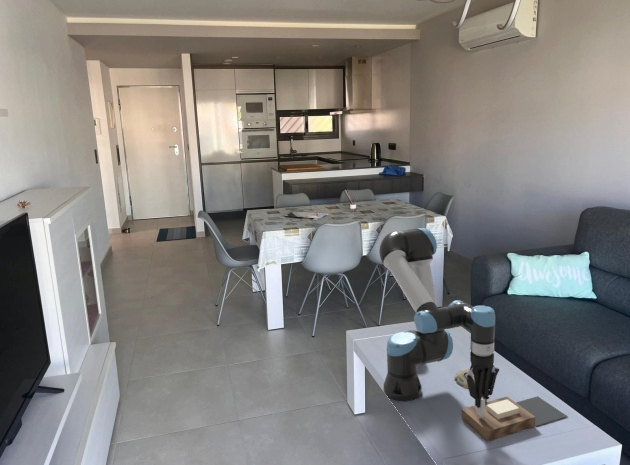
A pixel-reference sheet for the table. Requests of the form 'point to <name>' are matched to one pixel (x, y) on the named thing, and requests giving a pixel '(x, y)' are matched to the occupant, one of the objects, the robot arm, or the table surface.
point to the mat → (541, 410)
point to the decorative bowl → (462, 379)
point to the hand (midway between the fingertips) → (480, 414)
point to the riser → (498, 422)
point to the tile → (502, 409)
